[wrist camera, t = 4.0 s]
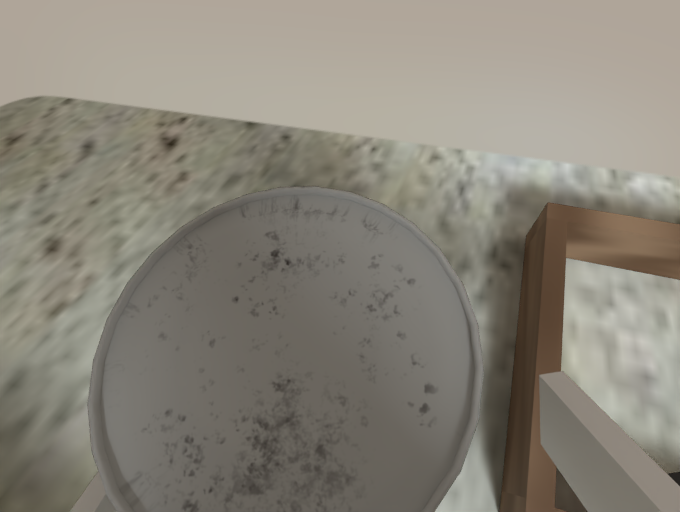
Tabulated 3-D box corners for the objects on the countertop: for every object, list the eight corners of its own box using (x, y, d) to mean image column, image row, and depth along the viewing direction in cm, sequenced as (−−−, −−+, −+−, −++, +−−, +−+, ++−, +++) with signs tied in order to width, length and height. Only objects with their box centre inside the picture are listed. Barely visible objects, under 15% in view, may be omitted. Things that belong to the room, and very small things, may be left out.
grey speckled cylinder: (210, 429, 20) (8, 399, 9) (316, 287, 23) (258, 142, 12) (362, 562, 17) (323, 752, 6) (461, 377, 20) (552, 285, 9)
